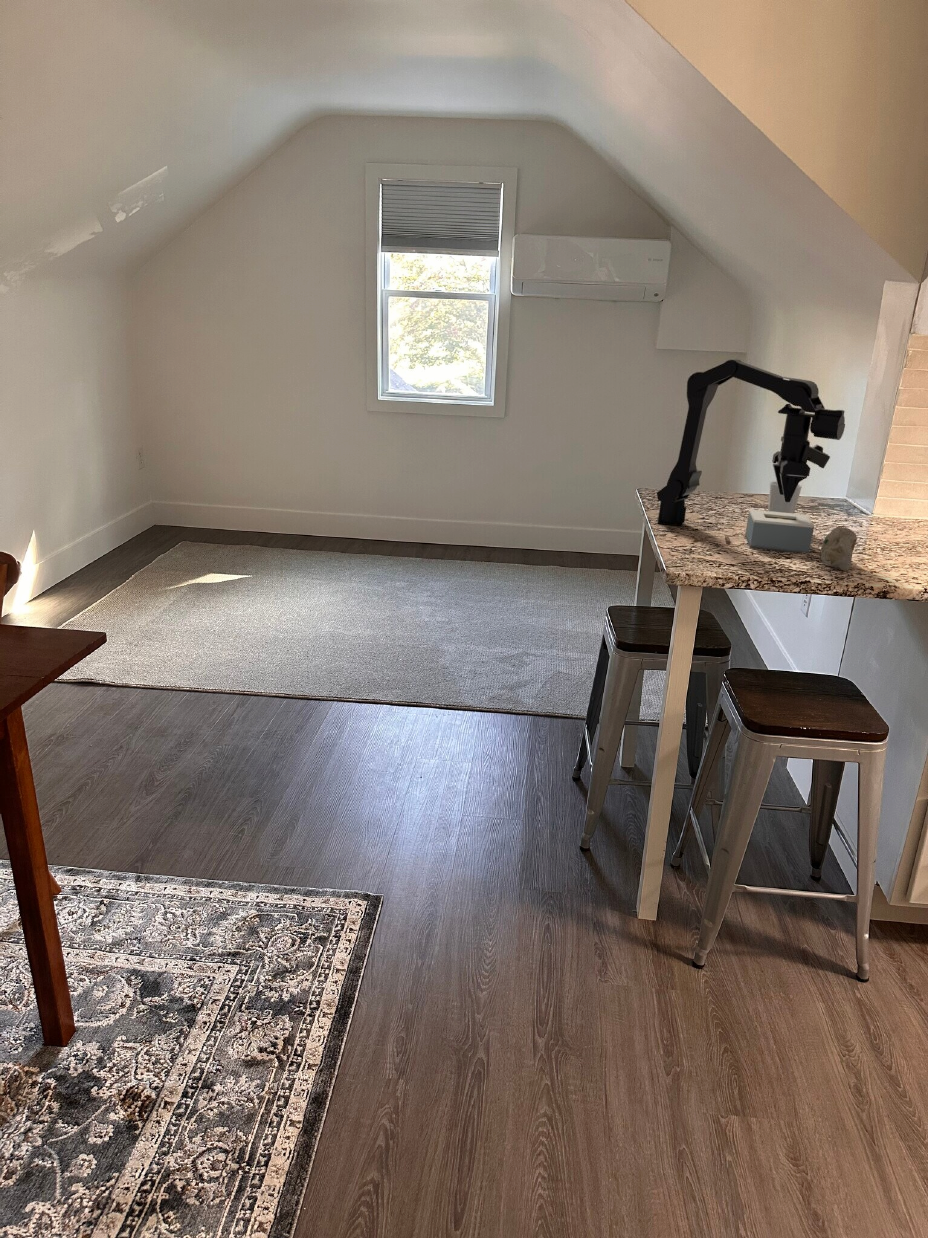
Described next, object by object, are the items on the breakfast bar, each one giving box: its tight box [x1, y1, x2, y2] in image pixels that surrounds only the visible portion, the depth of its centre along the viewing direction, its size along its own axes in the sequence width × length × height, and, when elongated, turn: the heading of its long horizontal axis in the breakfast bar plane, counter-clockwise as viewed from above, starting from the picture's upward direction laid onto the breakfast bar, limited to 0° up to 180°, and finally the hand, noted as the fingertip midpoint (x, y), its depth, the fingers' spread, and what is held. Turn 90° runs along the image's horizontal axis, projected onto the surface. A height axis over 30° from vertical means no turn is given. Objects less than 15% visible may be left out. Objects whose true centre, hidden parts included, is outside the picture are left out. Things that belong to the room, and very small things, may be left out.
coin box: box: [744, 509, 815, 554], centre depth 227 cm, size 14×12×7 cm
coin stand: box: [693, 532, 731, 545], centre depth 228 cm, size 9×5×1 cm, turn 79°
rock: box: [820, 526, 858, 571], centre depth 211 cm, size 12×7×10 cm, turn 160°
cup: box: [767, 480, 802, 514], centre depth 243 cm, size 8×8×12 cm
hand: (784, 498), depth 224 cm, fingers open, 9 cm apart
